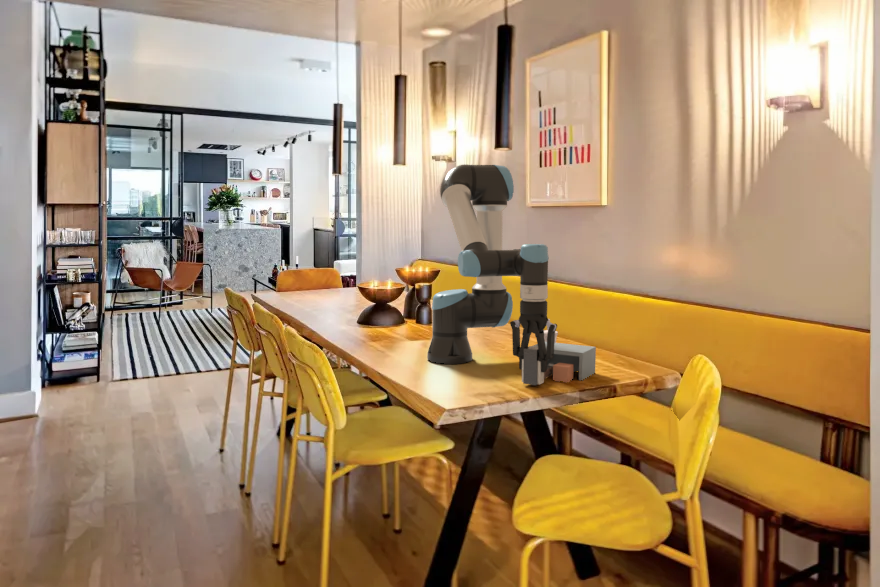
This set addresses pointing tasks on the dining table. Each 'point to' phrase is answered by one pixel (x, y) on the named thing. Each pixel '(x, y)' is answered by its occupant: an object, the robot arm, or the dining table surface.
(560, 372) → the cube
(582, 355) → the cubby
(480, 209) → the robot arm
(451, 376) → the dining table surface
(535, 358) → the grey block with rod
